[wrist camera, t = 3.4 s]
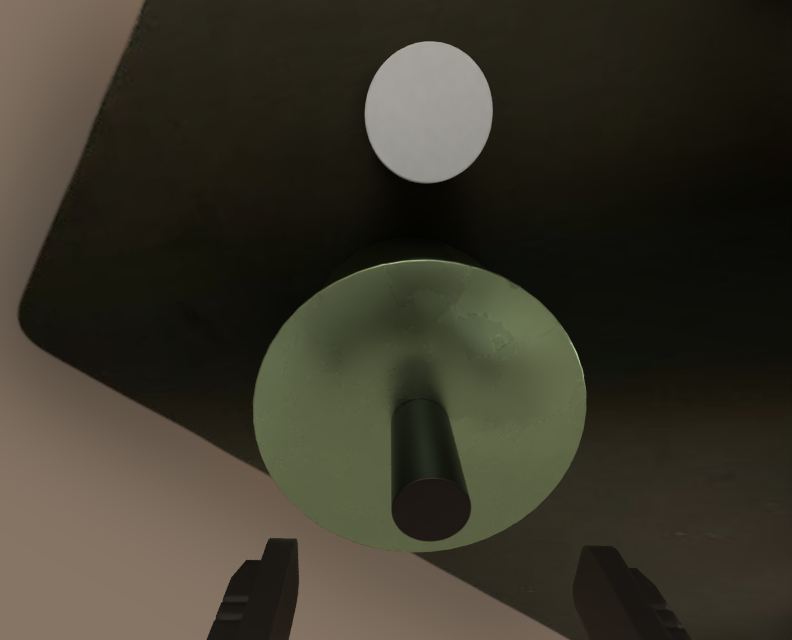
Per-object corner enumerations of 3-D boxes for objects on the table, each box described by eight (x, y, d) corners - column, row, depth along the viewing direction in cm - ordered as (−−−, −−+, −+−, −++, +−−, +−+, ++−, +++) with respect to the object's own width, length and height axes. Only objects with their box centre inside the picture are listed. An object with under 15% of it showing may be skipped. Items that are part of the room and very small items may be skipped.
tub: (395, 61, 24) (397, 14, 17) (482, 108, 24) (516, 80, 18) (356, 158, 25) (344, 149, 19) (439, 199, 26) (456, 204, 20)
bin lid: (331, 193, 16) (298, 198, 10) (638, 338, 18) (758, 411, 12) (220, 476, 20) (149, 596, 14) (480, 566, 22) (514, 704, 16)
